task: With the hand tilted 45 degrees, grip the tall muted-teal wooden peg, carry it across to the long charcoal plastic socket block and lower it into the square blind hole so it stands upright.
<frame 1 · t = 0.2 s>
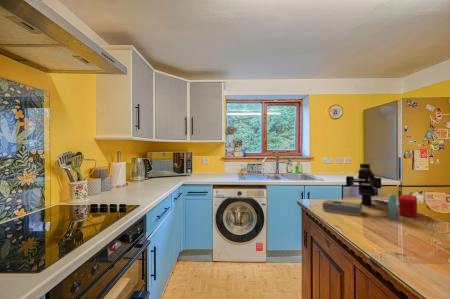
hand: (361, 184, 139), 17 cm above the counter, tool horizontal, fingers open, 9 cm apart
decorative item: (407, 214, 136), on the counter
socket block: (342, 210, 144), on the counter
peg: (392, 218, 127), on the counter
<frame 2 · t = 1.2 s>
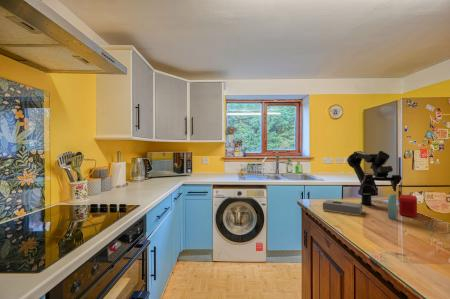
hand: (386, 191, 134), 14 cm above the counter, tool tilted 45°, fingers open, 9 cm apart
nothing on the counter moved.
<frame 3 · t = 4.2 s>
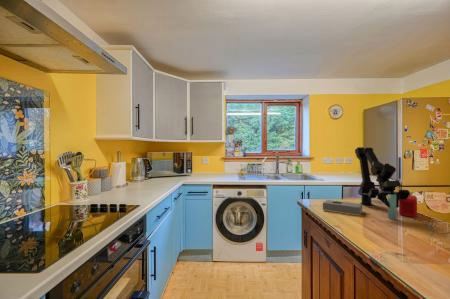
hand: (393, 207, 125), 7 cm above the counter, tool tilted 45°, fingers closed on peg, 4 cm apart
peg: (392, 218, 127), on the counter, touching gripper
everything else where it was.
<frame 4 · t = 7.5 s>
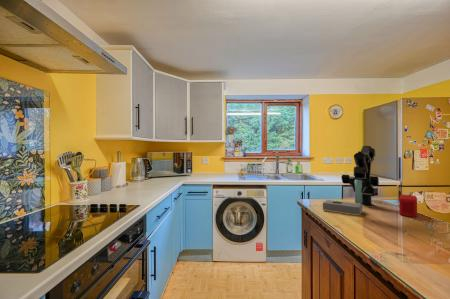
hand: (358, 191, 134), 13 cm above the counter, tool tilted 45°, fingers closed on peg, 4 cm apart
peg: (358, 202, 135), point 7 cm above the counter, touching gripper
everything else where it was.
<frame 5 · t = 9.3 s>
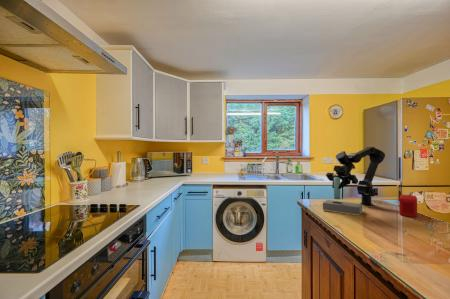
hand: (335, 188, 145), 14 cm above the counter, tool tilted 45°, fingers closed on peg, 4 cm apart
peg: (337, 198, 146), point 7 cm above the counter, touching gripper
everything else where it was.
when the fingers open (9 cm above the counter, at t = 10.9 s): peg drops 2 cm, resting on socket block.
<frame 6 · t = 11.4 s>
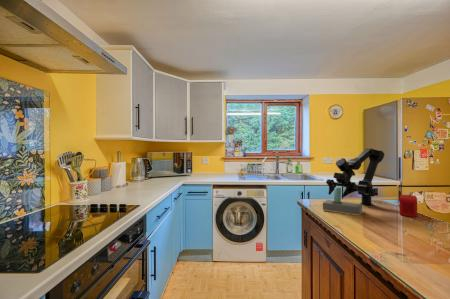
hand: (335, 195, 145), 9 cm above the counter, tool tilted 45°, fingers open, 9 cm apart
peg: (337, 208, 146), point 1 cm above the counter, touching socket block
everything else where it was.
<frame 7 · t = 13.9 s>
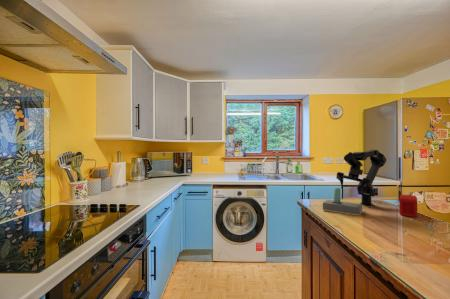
hand: (349, 191, 147), 11 cm above the counter, tool tilted 35°, fingers open, 9 cm apart
nothing on the counter moved.
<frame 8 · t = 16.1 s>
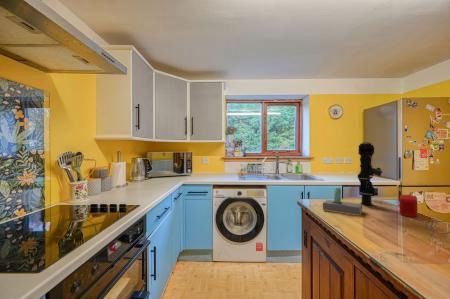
hand: (366, 188, 146), 13 cm above the counter, tool pointing down, fingers open, 9 cm apart
nothing on the counter moved.
at the end: peg 0.0 cm from the target spot on the socket block, point 0.6 cm above the socket block's base; peg tilted 2°; the gripper is holding nothing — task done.
